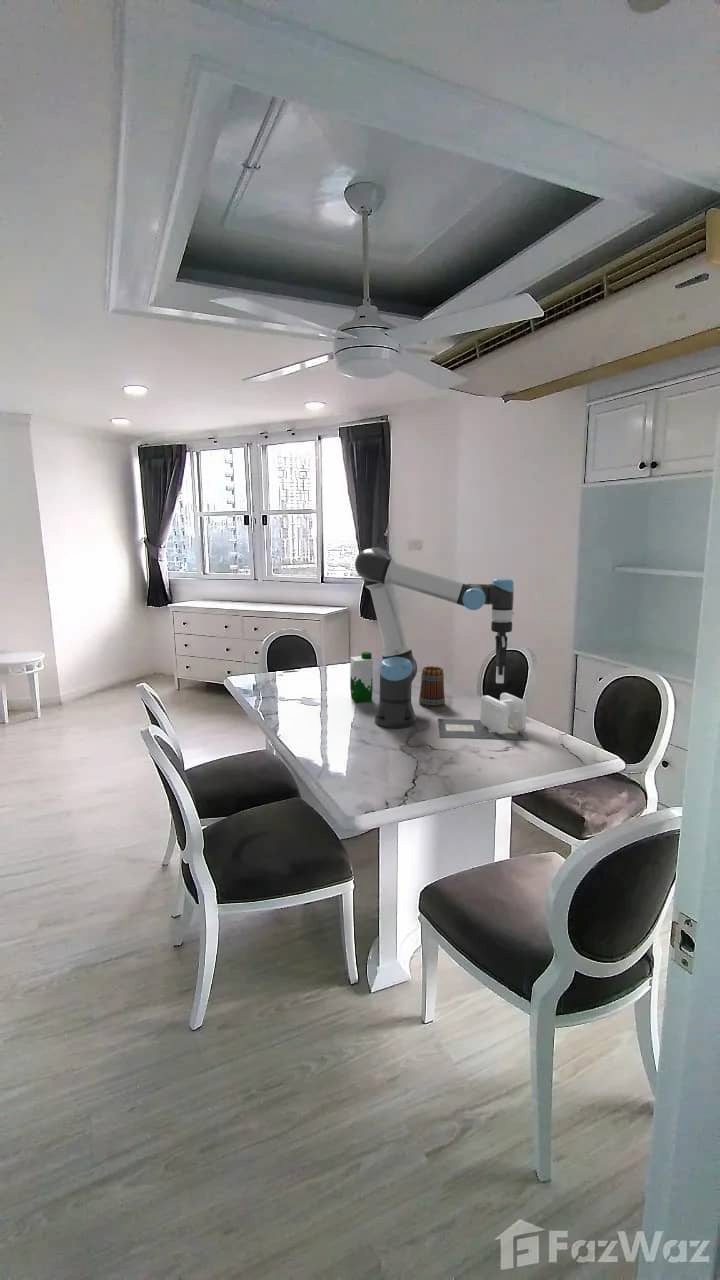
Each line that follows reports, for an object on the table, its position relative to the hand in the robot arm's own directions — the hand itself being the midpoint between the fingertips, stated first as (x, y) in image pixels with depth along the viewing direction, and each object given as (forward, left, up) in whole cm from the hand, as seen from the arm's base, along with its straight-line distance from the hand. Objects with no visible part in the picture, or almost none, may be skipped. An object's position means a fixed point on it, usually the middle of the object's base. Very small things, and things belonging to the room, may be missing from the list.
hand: (499, 682), depth 228 cm
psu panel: (-8, -14, -14) cm, 21 cm away
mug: (-25, +18, -14) cm, 34 cm away
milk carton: (-54, +18, -14) cm, 58 cm away
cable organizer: (0, -14, -14) cm, 20 cm away
